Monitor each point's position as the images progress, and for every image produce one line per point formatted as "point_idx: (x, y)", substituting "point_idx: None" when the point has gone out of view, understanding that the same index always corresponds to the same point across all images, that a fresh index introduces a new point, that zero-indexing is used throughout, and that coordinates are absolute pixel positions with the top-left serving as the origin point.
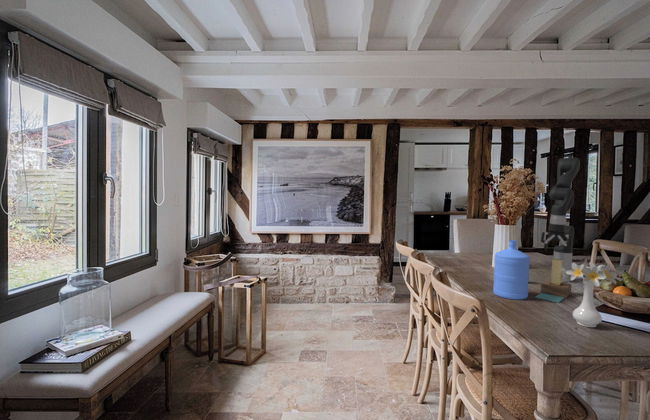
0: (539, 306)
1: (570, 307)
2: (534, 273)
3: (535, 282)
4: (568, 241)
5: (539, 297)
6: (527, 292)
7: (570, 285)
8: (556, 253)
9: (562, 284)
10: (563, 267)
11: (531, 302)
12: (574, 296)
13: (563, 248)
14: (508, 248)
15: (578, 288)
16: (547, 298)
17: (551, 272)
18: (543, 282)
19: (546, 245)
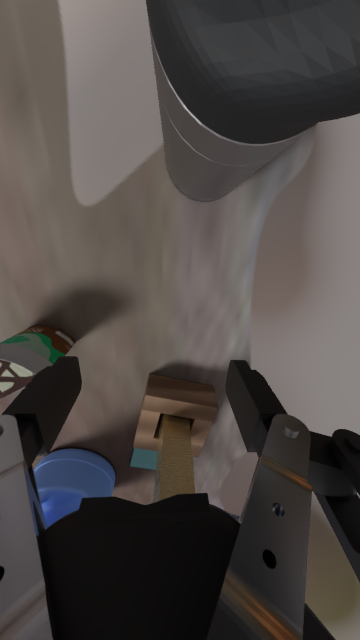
0: (143, 504)
1: (197, 484)
2: (57, 2)
3: (105, 291)
4: (344, 549)
5: (138, 466)
6: (111, 491)
7: (213, 419)
8: (179, 113)
9: (191, 417)
10: (222, 185)
11: (127, 491)
12: (218, 404)
13: (281, 113)
14: None
15: (249, 296)
16: (155, 465)
17: (155, 477)
18: (137, 429)
19: (51, 435)
